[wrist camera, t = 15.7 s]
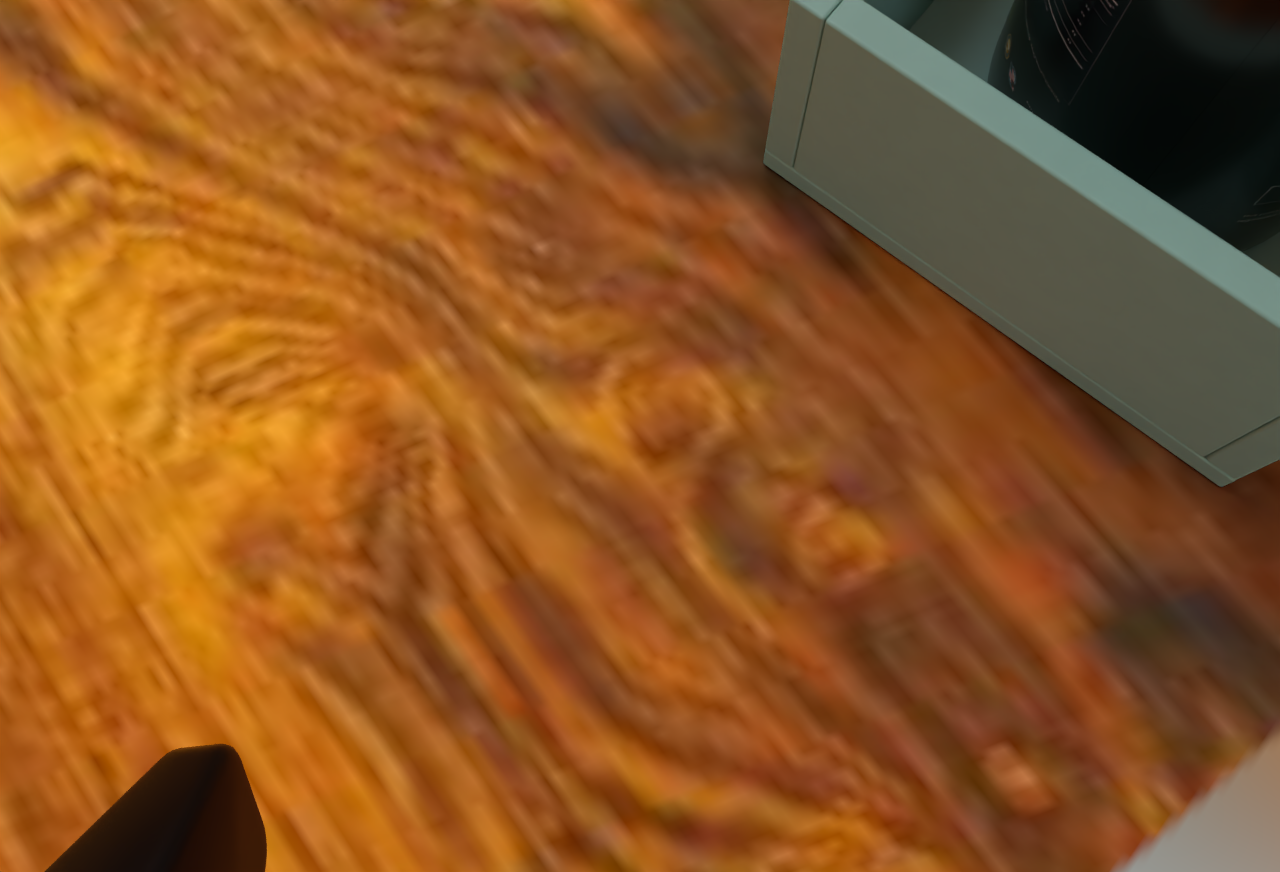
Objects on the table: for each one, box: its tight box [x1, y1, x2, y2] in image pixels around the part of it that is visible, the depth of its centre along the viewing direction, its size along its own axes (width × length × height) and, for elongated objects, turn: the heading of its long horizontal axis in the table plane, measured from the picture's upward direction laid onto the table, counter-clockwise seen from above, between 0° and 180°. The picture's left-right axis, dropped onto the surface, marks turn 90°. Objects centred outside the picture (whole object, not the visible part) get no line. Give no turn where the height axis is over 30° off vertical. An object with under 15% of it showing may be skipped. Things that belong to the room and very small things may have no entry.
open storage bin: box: [763, 0, 1280, 487], centre depth 22 cm, size 11×11×6 cm
